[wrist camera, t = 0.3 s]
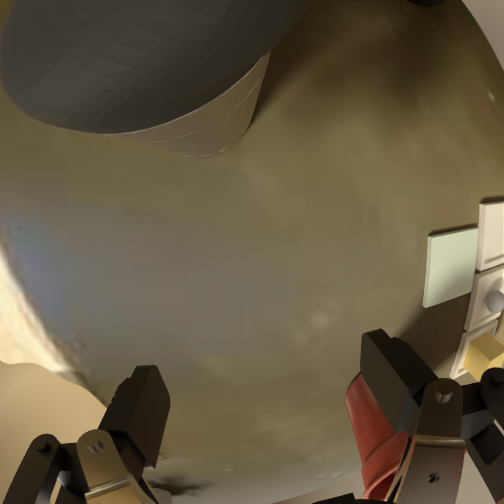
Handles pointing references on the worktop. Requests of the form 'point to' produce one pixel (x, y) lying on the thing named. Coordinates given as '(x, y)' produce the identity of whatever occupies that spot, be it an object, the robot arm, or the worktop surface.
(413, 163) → the worktop surface
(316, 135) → the worktop surface
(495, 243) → the dish
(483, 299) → the dish
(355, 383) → the flower pot
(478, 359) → the letter block
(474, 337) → the dish
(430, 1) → the cola bottle
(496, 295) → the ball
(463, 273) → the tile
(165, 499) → the house plant
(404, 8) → the worktop surface
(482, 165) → the worktop surface
